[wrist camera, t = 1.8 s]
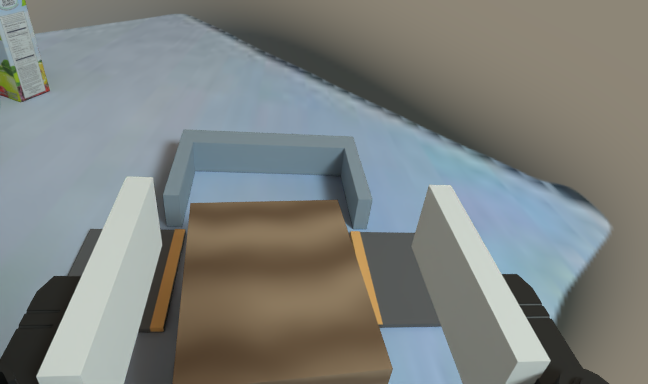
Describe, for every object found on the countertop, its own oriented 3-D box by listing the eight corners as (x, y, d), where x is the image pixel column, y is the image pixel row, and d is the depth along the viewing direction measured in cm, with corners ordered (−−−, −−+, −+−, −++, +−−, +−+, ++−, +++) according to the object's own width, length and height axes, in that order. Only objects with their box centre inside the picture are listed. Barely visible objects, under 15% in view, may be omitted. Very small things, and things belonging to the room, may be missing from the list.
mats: (469, 326, 40) (471, 322, 40) (42, 333, 35) (41, 329, 35) (430, 235, 50) (431, 232, 49) (91, 231, 45) (90, 228, 44)
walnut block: (367, 445, 31) (392, 368, 26) (184, 470, 29) (171, 391, 23) (326, 274, 44) (337, 200, 38) (197, 281, 41) (190, 203, 36)
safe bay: (366, 229, 49) (372, 199, 47) (166, 226, 47) (162, 195, 44) (348, 163, 60) (352, 136, 58) (186, 157, 57) (183, 129, 55)
